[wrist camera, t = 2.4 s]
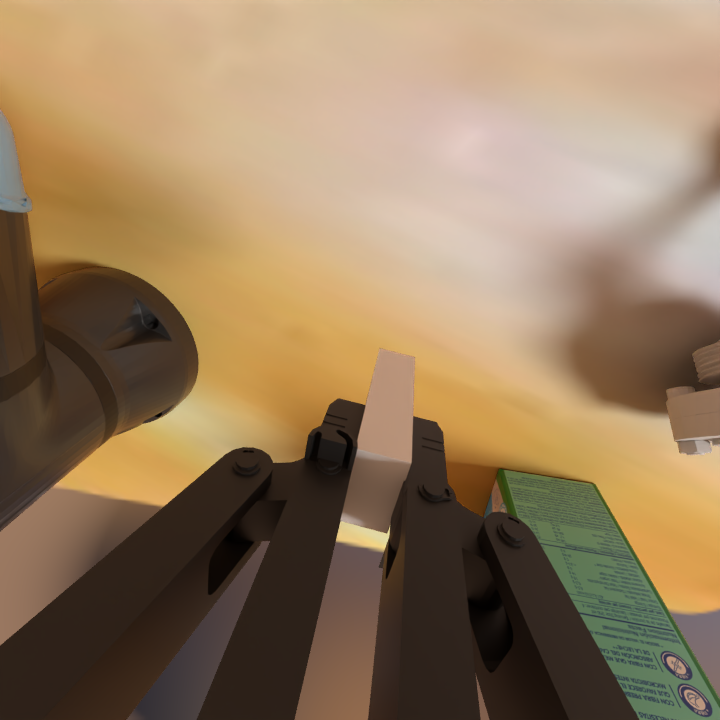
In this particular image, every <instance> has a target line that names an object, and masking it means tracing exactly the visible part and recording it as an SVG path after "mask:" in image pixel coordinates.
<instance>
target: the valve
mask: <svg viewBox="0 0 720 720" xmlns="http://www.w3.org/2000/svg"><path fill="white" fill-rule="evenodd" d="M692 357H694V360H693V361H694V362H695V367H696V368H697V369H696V372H697V373H699V374H698V375H697V376H698V377H699V378H700V379H699V383H702V384H709V385H720V340H719V341H718V342H716V343H715V344H711V345H708V346H705V347H702V348H700V349H698V350H696V351H695V352H694V353H693V354H692ZM666 392H667V397H668V400H667V401H666V406H667V410H668V415H669V419H670V423H671V428H672V432H673V436H674V441H676V442H677V444H678V448H679V453H684V454H687V455H705V453H711V452H712V449H711V445H710V443H712V444H713V446H720V387H719V388H715V389H710V390H704V391H699V392H696V391H695V388H694V387H692V386H683V387H675V388H669V389H667V390H666Z"/></svg>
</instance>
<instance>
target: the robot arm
mask: <svg viewBox="0 0 720 720" xmlns="http://www.w3.org/2000/svg"><path fill="white" fill-rule="evenodd" d="M31 210H32V202H31V199H30V198H29V197H28V195H27V194H26V193H25V190H24V185H23V180H22V175H21V170H20V165H19V160H18V155H17V150H16V145H15V139H14V134H13V131H12V129H11V126H10V124H9V122H8V120H7V118H6V116H5V115H4V114H3V112H2V111H1V110H0V531H1V530H3V529H4V528H5V527H6V526H7V525H8V524H9V523H11V522H12V521H13V520H14V519H15V518H17V517H18V516H19V515H20V514H21V513H22V512H24V511H25V510H26V509H27V508H28V507H29V506H30V505H32V504H33V503H34V502H35V501H36V500H37V499H39V498H40V497H41V496H42V495H43V494H45V493H46V492H47V491H48V490H49V489H50V488H52V487H53V486H54V485H55V484H56V483H57V482H59V481H60V480H61V479H62V478H63V477H65V476H66V475H67V474H68V473H69V472H70V471H72V470H73V469H74V468H75V467H76V466H78V465H79V464H80V463H81V462H82V461H83V460H85V459H86V458H87V457H88V456H89V455H91V454H92V453H93V452H94V451H95V450H96V449H97V448H99V447H100V446H101V445H102V444H104V443H105V442H106V441H107V440H108V439H110V438H111V437H113V436H116V435H118V434H121V433H124V432H126V431H129V430H131V429H133V428H136V427H138V426H140V425H141V424H143V423H148V422H151V421H154V420H157V419H159V418H161V417H163V416H165V415H166V414H168V413H169V412H171V411H172V410H173V409H174V408H175V407H176V406H177V405H178V404H180V403H181V402H182V401H183V400H184V399H185V398H186V397H187V396H188V394H189V393H190V392H191V390H192V388H193V386H194V384H195V381H196V378H197V373H198V354H197V348H196V345H195V341H194V338H193V336H192V333H191V331H190V329H189V327H188V325H187V323H186V321H185V320H184V318H183V317H182V315H181V314H180V312H179V311H178V310H177V309H176V307H175V306H174V305H173V304H172V303H171V302H170V301H169V300H168V299H167V298H166V297H165V296H164V295H163V294H162V293H161V292H160V291H159V290H157V289H156V288H155V287H153V286H152V285H150V284H149V283H147V282H146V281H144V280H142V279H141V278H139V277H137V276H135V275H132V274H130V273H127V272H125V271H121V270H118V269H113V268H107V267H90V268H85V269H81V270H77V271H73V272H69V273H66V274H63V275H60V276H58V277H56V278H54V279H52V280H50V281H48V282H47V283H46V284H45V285H43V286H42V287H41V288H40V289H39V290H38V288H37V280H36V273H35V266H34V259H33V252H32V244H31V237H30V230H29V223H28V216H27V212H29V211H31ZM414 369H415V357H412V356H408V355H404V354H400V353H396V352H392V351H388V350H384V349H379V353H378V357H377V361H376V365H375V369H374V373H373V377H372V381H371V385H370V389H369V393H368V397H367V401H366V405H363V404H359V403H355V402H351V401H347V400H343V399H339V398H338V399H337V400H336V401H334V402H333V403H331V404H330V405H329V408H328V410H327V413H326V415H325V418H324V420H323V423H322V425H321V426H319V427H317V428H315V429H313V430H312V431H311V433H310V434H309V435H308V441H307V447H306V452H305V458H303V459H301V460H299V461H295V462H290V463H273V461H272V459H271V458H270V456H269V455H268V454H267V453H265V452H264V451H262V450H260V449H256V448H247V447H243V448H239V449H235V450H232V451H231V452H229V453H227V454H226V455H224V456H223V457H222V458H221V459H220V460H218V461H217V462H216V463H215V464H214V465H213V466H211V467H210V468H209V469H208V470H207V471H205V472H204V473H203V474H202V475H201V476H200V477H198V478H197V479H196V480H195V481H194V482H193V483H191V484H190V485H189V486H188V487H187V488H185V489H184V490H183V491H182V492H181V493H180V494H178V495H177V496H176V497H175V498H174V499H172V500H171V501H170V502H169V503H168V504H167V505H165V506H164V507H163V508H162V509H161V510H160V511H158V512H157V513H156V514H155V515H154V516H153V517H151V518H150V519H149V520H148V521H147V522H145V523H144V524H143V525H142V526H141V527H139V528H138V529H137V530H136V531H135V532H134V533H132V534H131V535H130V536H129V537H128V538H127V539H125V540H124V541H123V542H122V543H121V544H119V545H118V546H117V547H116V548H115V549H114V550H113V551H111V552H110V553H109V554H108V555H107V556H106V557H104V558H103V559H102V560H101V561H99V562H98V563H97V564H96V565H95V566H94V567H92V568H91V569H90V570H89V571H88V572H86V573H85V574H84V575H83V576H82V577H81V578H80V579H78V580H77V581H76V582H75V583H73V584H72V585H71V586H70V587H69V588H68V589H66V590H65V591H64V592H63V593H62V594H61V595H59V596H58V597H57V598H56V599H55V600H54V601H52V602H51V603H50V604H49V605H48V606H46V607H45V608H44V609H43V610H42V611H41V612H39V613H38V614H37V615H36V616H35V617H33V618H32V619H31V620H30V621H29V622H28V623H26V624H25V625H24V626H23V627H22V628H21V629H19V631H17V632H16V633H15V634H13V635H12V636H11V637H10V638H9V639H8V640H6V641H5V642H4V643H3V644H2V645H1V646H0V720H126V719H127V718H128V717H129V716H130V714H131V713H132V712H133V710H134V709H135V708H136V706H137V705H138V704H139V702H140V701H141V700H142V698H143V697H144V696H145V695H146V693H147V692H148V690H149V689H150V688H151V687H152V685H153V684H154V683H155V681H156V680H157V679H158V678H159V676H160V675H161V674H162V672H163V671H164V670H165V668H166V667H167V666H168V665H169V663H170V662H171V661H172V659H173V658H174V657H175V655H176V654H177V653H178V651H179V650H180V649H181V647H182V646H183V645H184V644H185V642H186V641H187V639H188V638H189V637H190V636H191V634H192V633H193V632H194V631H195V629H196V628H197V627H198V625H199V624H200V623H201V621H202V620H203V619H204V617H205V616H206V615H207V614H208V612H209V611H210V610H211V608H212V607H213V606H214V604H215V603H216V602H217V600H218V599H219V598H220V597H221V595H222V594H223V592H224V591H225V590H226V589H227V587H228V586H229V585H230V584H231V582H232V581H233V580H234V578H235V577H236V576H237V574H238V573H239V572H240V570H241V569H242V568H243V566H244V565H245V564H246V563H247V561H248V560H249V559H250V557H251V556H252V554H253V553H254V552H255V551H256V549H257V548H258V547H259V546H260V544H261V542H262V541H270V543H269V546H268V548H267V551H266V553H265V555H264V558H263V560H262V563H261V565H260V568H259V570H258V573H257V575H256V578H255V580H254V582H253V585H252V587H251V590H250V592H249V594H248V597H247V599H246V602H245V604H244V606H243V609H242V611H241V614H240V616H239V619H238V621H237V624H236V626H235V628H234V631H233V633H232V636H231V638H230V641H229V643H228V645H227V648H226V650H225V653H224V655H223V658H222V660H221V662H220V665H219V667H218V669H217V672H216V674H215V677H214V679H213V682H212V684H211V687H210V689H209V691H208V694H207V696H206V699H205V701H204V704H203V706H202V709H201V711H200V713H199V716H198V718H197V720H294V719H295V714H296V710H297V705H298V701H299V697H300V693H301V689H302V684H303V680H304V676H305V671H306V666H307V663H308V658H309V654H310V649H311V645H312V641H313V637H314V632H315V628H316V624H317V619H318V615H319V611H320V606H321V602H322V598H323V593H324V589H325V585H326V580H327V576H328V571H329V568H330V563H331V559H332V555H333V550H334V546H335V542H336V537H337V533H338V529H339V524H340V521H343V522H347V523H350V524H354V525H358V526H361V527H365V528H369V529H373V530H376V531H380V532H384V533H387V532H388V529H389V527H390V536H389V540H388V542H387V545H386V548H385V551H384V554H383V557H382V560H381V562H380V565H379V568H383V575H382V585H381V595H380V605H379V615H378V625H377V635H376V646H375V655H374V666H373V676H372V687H371V697H370V706H369V716H368V720H480V710H479V701H478V693H477V683H476V676H477V679H478V682H479V685H480V689H481V692H482V695H483V699H484V702H485V706H486V709H487V712H488V716H489V719H490V720H639V718H638V716H637V714H636V713H635V711H634V709H633V707H632V706H631V704H630V702H629V700H628V699H627V697H626V695H625V693H624V691H623V690H622V688H621V686H620V684H619V683H618V681H617V679H616V677H615V676H614V674H613V672H612V670H611V668H610V667H609V665H608V663H607V661H606V660H605V658H604V656H603V654H602V653H601V651H600V649H599V647H598V645H597V644H596V642H595V640H594V638H593V637H592V635H591V633H590V631H589V630H588V628H587V626H586V624H585V622H584V621H583V619H582V617H581V615H580V614H579V612H578V610H577V608H576V607H575V605H574V603H573V601H572V600H571V598H570V596H569V594H568V592H567V591H566V589H565V587H564V585H563V584H562V582H561V580H560V578H559V577H558V575H557V573H556V571H555V569H554V568H553V566H552V564H551V562H550V561H549V559H548V557H547V555H546V554H545V552H544V550H543V548H542V546H541V545H540V543H539V541H538V539H537V538H536V536H535V534H534V533H533V532H532V530H531V529H530V528H529V526H527V525H526V524H525V523H524V522H523V521H521V520H520V519H519V518H517V517H515V516H513V515H511V514H509V513H504V512H492V513H490V514H489V515H488V516H486V518H483V517H481V516H479V515H477V514H475V513H473V512H472V511H470V510H468V509H467V508H465V507H463V506H462V505H461V504H460V503H459V502H457V500H456V496H455V493H454V491H453V489H452V488H451V487H450V486H449V485H448V483H447V472H446V461H445V453H444V451H445V450H444V445H443V444H444V439H443V432H442V430H441V429H440V427H439V426H438V424H437V422H433V421H430V420H426V419H422V418H418V417H414V416H413V401H414ZM390 524H391V525H390ZM475 672H476V674H475Z"/></svg>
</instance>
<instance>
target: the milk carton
mask: <svg viewBox="0 0 720 720" xmlns="http://www.w3.org/2000/svg"><path fill="white" fill-rule="evenodd" d="M492 512H504V513H509V514H511V515H513V516H515V517H517V518H519V519H520V520H521V521H523V522H524V523H525V524H526V525H527V526H529V528H530V529H531V530H532V532H533V533H534V534H535V536H536V538H537V539H538V541H539V543H540V545H541V546H542V548H543V550H544V552H545V554H546V555H547V557H548V559H549V561H550V562H551V564H552V566H553V568H554V569H555V571H556V573H557V575H558V577H559V578H560V580H561V582H562V584H563V585H564V587H565V589H566V591H567V592H568V594H569V596H570V598H571V600H572V601H573V603H574V605H575V607H576V608H577V610H578V612H579V614H580V615H581V617H582V619H583V621H584V622H585V624H586V626H587V628H588V630H589V631H590V633H591V635H592V637H593V638H594V640H595V642H596V644H597V645H598V647H599V649H600V651H601V653H602V654H603V656H604V658H605V660H606V661H607V663H608V665H609V667H610V668H611V670H612V672H613V674H614V676H615V677H616V679H617V681H618V683H619V684H620V686H621V688H622V690H623V691H624V693H625V695H626V697H627V699H628V700H629V702H630V704H631V706H632V707H633V709H634V711H635V713H636V714H637V716H638V718H639V720H720V698H719V696H718V695H717V693H716V691H715V689H714V688H713V686H712V684H711V683H710V681H709V679H708V677H707V676H706V674H705V672H704V670H703V669H702V667H701V665H700V664H699V662H698V660H697V659H696V657H695V655H694V653H693V652H692V650H691V648H690V646H689V645H688V643H687V641H686V640H685V638H684V636H683V634H682V633H681V631H680V629H679V628H678V626H677V624H676V622H675V621H674V619H673V617H672V616H671V614H670V612H669V610H668V609H667V607H666V605H665V603H664V602H663V600H662V598H661V597H660V595H659V593H658V591H657V590H656V588H655V586H654V584H653V583H652V581H651V579H650V578H649V576H648V574H647V572H646V571H645V569H644V567H643V566H642V564H641V562H640V560H639V559H638V557H637V555H636V554H635V552H634V550H633V548H632V547H631V545H630V543H629V541H628V540H627V538H626V536H625V535H624V533H623V531H622V529H621V528H620V526H619V524H618V523H617V521H616V519H615V517H614V516H613V514H612V512H611V511H610V509H609V507H608V505H607V504H606V502H605V500H604V498H603V497H602V495H601V493H600V492H599V490H598V488H597V486H596V485H595V484H591V483H584V482H578V481H572V480H566V479H560V478H553V477H547V476H541V475H535V474H528V473H522V472H516V471H510V470H503V469H499V471H498V474H497V477H496V480H495V483H494V486H493V489H492V493H491V496H490V499H489V502H488V505H487V508H486V511H485V514H484V517H483V518H486V516H488V515H489V514H490V513H492Z"/></svg>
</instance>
